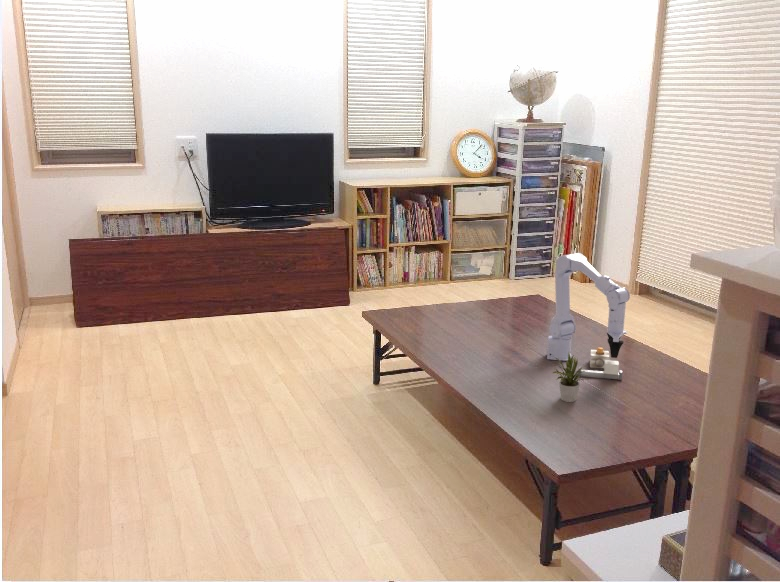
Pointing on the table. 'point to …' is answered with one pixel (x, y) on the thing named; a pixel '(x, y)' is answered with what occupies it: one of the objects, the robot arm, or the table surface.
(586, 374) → the rail
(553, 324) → the robot arm
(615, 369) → the block
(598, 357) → the cream cage with ball
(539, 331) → the table surface
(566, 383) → the house plant
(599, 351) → the plunger
